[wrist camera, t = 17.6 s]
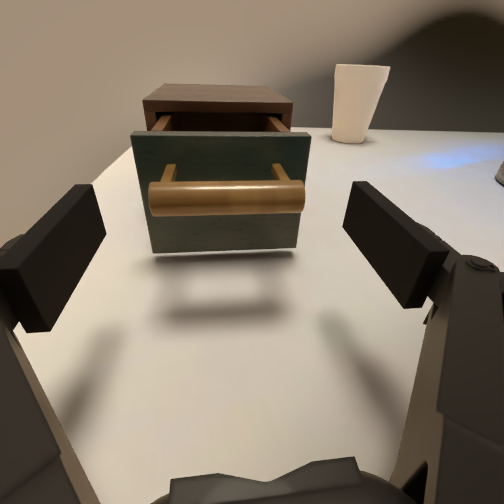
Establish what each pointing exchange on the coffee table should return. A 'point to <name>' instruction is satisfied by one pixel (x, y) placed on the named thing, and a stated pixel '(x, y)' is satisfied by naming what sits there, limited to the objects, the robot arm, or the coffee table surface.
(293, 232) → the drawer
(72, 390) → the coffee table surface
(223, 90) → the cabinet
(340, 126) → the foam cup
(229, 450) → the coffee table surface
